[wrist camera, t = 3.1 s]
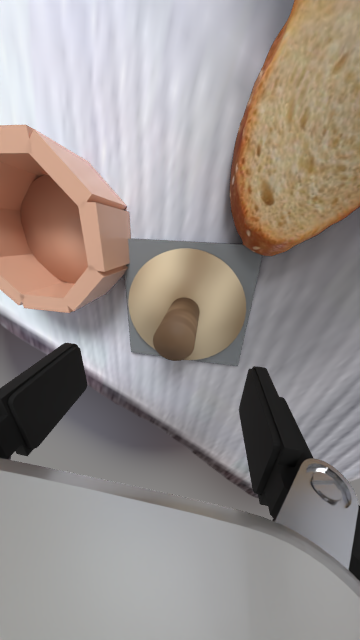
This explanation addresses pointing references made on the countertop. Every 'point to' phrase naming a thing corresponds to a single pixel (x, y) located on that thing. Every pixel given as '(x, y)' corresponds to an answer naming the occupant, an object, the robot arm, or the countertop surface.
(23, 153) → the bowl
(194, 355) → the lid
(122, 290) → the countertop surface
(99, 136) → the countertop surface
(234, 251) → the mat
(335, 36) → the bread slice
